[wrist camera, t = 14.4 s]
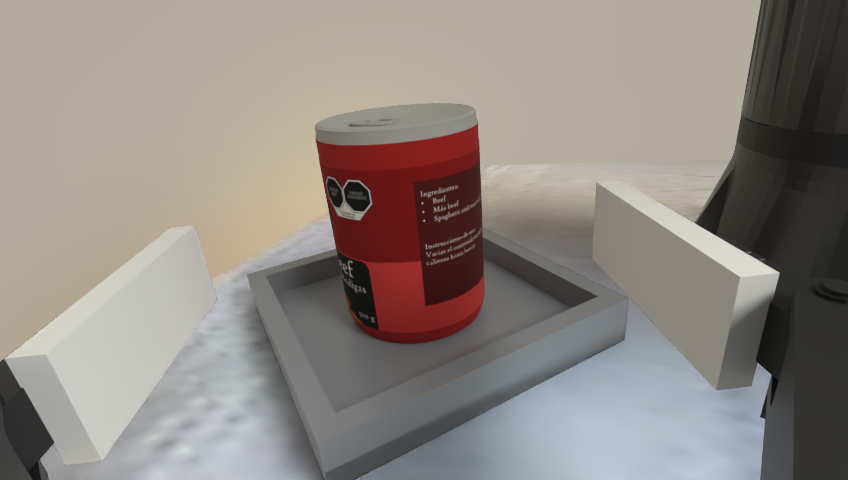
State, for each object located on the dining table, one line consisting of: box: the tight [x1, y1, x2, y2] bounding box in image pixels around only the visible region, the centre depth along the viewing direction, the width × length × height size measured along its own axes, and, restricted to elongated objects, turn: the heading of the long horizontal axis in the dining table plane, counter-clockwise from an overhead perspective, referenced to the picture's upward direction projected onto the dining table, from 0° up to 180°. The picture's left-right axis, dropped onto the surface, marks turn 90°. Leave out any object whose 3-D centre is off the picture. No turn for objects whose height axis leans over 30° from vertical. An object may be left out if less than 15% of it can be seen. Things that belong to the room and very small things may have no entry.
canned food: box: [315, 103, 485, 343], centre depth 24 cm, size 8×8×11 cm
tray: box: [247, 228, 629, 480], centre depth 26 cm, size 16×16×2 cm
